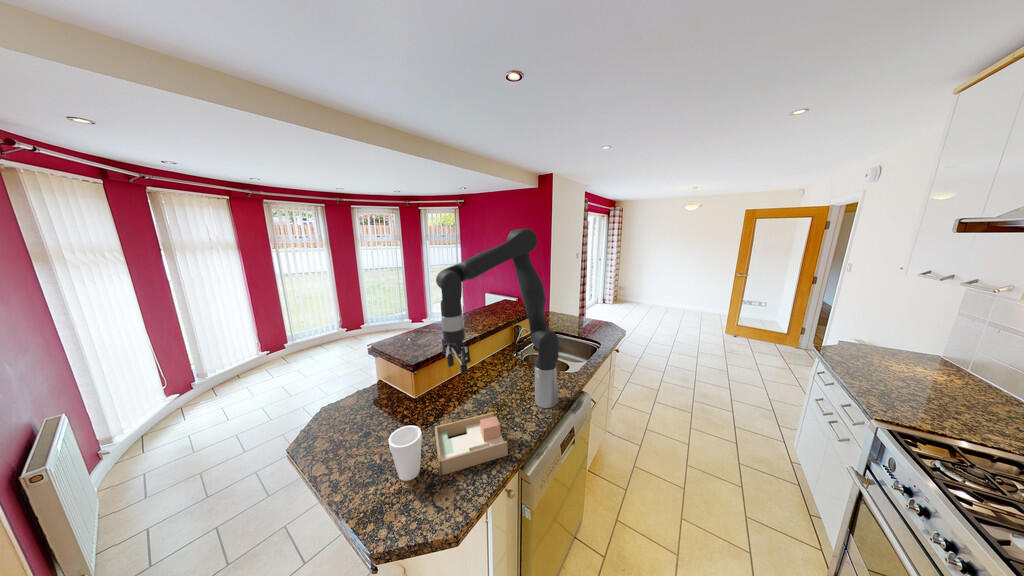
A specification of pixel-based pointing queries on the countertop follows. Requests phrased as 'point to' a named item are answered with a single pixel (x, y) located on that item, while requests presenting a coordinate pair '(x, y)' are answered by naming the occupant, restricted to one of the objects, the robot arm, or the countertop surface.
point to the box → (466, 445)
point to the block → (490, 428)
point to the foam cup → (406, 451)
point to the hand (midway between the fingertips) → (457, 369)
